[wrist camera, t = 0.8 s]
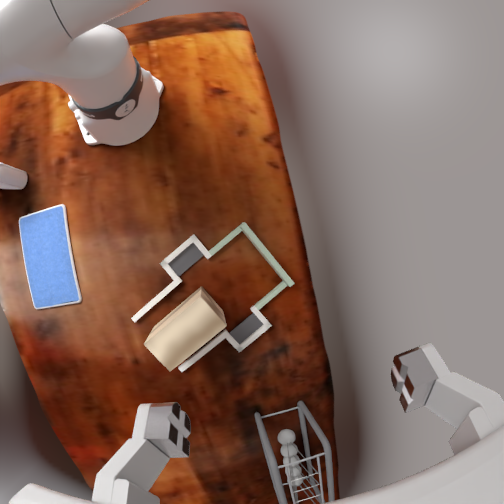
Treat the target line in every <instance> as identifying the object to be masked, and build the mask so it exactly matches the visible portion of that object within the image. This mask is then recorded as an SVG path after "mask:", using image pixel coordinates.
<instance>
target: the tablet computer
mask: <svg viewBox="0 0 504 504" xmlns="http://www.w3.org/2000/svg"><path fill="white" fill-rule="evenodd" d="M19 227H20V236H21V243H22V250H23V256H24V262H25V268H26V273H27V278H28V283H29V288H30V292H31V296H32V300H33V304H34V307H35V308H36V309H44V308H50V307H56V306H62V305H68V304H74V303H80V302H81V301H82V296H81V292H80V288H79V284H78V280H77V275H76V270H75V265H74V260H73V255H72V249H71V243H70V236H69V230H68V222H67V214H66V207H65V205H63V204H61V205H58V206H54V207H51V208H48V209H45V210H41V211H38V212H35V213H32V214H29V215H26V216H23V217H21V218H20V219H19Z"/></svg>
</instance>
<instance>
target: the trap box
mask: <svg viewBox="0 0 504 504" xmlns="http://www.w3.org/2000/svg"><path fill="white" fill-rule="evenodd" d="M241 231H243V233H244V234H245V235H246V236H247V238H248V239H249V240H250V241H251V242H252V244H253V245H254V246H255V247H256V249H257V250H258V251H259V252H260V253H261V255H262V256H263V257H264V258H265V260H266V261H267V262H268V263H269V264H270V266H271V267H272V268H273V269H274V271H275V272H276V273H277V274H278V275H279V277H280V278H281V279H282V280H283V281H282V282H281V283H280V284H278V285H277V286H276V287H275V288H274V289H273V290H271V291H270V292H269V293H268V294H267V295H266V296H264V297H263V298H262V299H261V300H260V301H259V302H257V303H256V304H255V305H254V306H253V307H251V308H250V309H251V311H252V312H253V313H252V314H251V315H250V316H249V317H248V318H246V319H245V320H244V321H243V322H242V323H240V324H239V325H238V326H237V327H236V328H234V329H233V330H232V331H231V332H230V333H229V332H228V331H227V330H226V329H225V330H224V331H223V332H221V333H220V334H219V335H218V336H217V337H215V338H214V339H213V340H212V341H210V342H209V343H208V344H207V345H205V346H204V347H203V348H202V349H200V350H199V351H198V352H197V353H195V354H194V355H193V356H192V357H190V358H189V359H188V360H187V361H185V362H184V363H183V364H182V365H180V366H179V370H180V371H181V372H183V371H184V370H186V369H187V368H188V367H190V366H191V365H192V364H193V363H195V362H196V361H197V360H198V359H200V358H201V357H202V356H203V355H205V354H206V353H207V352H209V351H210V350H211V349H212V348H213V347H215V346H216V345H217V344H218V343H220V342H221V341H222V340H223V339H225V338H226V339H227V340H228V341H229V342H230V343H231V344H232V346H233V347H234V348H235V349H236V350H237V351H238V352H241V351H242V350H243V349H244V348H246V347H247V346H248V345H249V344H251V343H252V342H253V341H254V340H255V339H257V338H258V337H259V336H260V335H261V334H263V333H264V332H265V331H266V330H267V329H269V328H270V327H271V326H272V325H271V324H270V323H269V322H268V320H267V319H266V318H265V317H264V316H263V315H262V314H261V312H260V311H259V310H260V309H261V308H262V307H263V306H264V305H265V304H267V303H268V302H269V301H270V300H271V299H272V298H274V297H275V296H276V295H277V294H278V293H279V292H281V291H282V290H283V289H284V288H285V287H286V286H287V285H288V286H289V287H291V286H292V285H293V284H295V283H294V282H293V281H292V280H291V278H290V277H289V276H288V275H287V273H286V272H285V271H284V270H283V268H282V267H281V266H280V265H279V263H278V262H277V261H276V260H275V258H274V257H273V256H272V255H271V254H270V252H269V251H268V250H267V249H266V247H265V246H264V245H263V244H262V242H261V241H260V240H259V239H258V238H257V236H256V235H255V234H254V233H253V231H252V230H251V229H250V228H249V227H248V225H247V224H246V223H245V222H243V223H242V224H241V225H239V226H238V227H237V228H236V229H235V230H233V231H232V232H231V233H230V234H228V235H227V236H226V237H225V238H224V239H222V240H221V241H220V242H219V243H218V244H217V245H215V246H214V247H213V248H212V249H211V250H209V251H208V250H207V249H206V248H205V247H204V246H203V244H202V243H201V242H200V241H199V240H198V238H197V237H196V236H195V235H194V234H193V235H192V236H191V237H190V238H189V239H187V240H186V241H185V242H184V243H183V244H182V245H180V246H179V247H178V248H177V249H176V250H175V251H173V252H172V253H171V254H170V255H169V256H168V257H166V258H165V259H164V260H163V261H162V262H161V263H160V264H161V266H162V267H163V268H164V269H165V270H166V272H167V273H168V274H169V275H170V276H171V278H172V279H173V280H174V281H173V282H172V283H171V284H170V285H168V286H167V287H166V288H165V289H164V290H163V291H161V292H160V293H159V294H158V295H157V296H156V297H155V298H153V299H152V300H151V301H150V302H149V303H148V304H147V305H145V306H144V307H143V308H142V309H141V310H140V311H139V312H137V313H136V314H135V315H134V316H133V317H132V318H131V319H132V320H133V321H134V322H136V321H137V320H138V319H139V318H140V317H142V316H143V315H144V314H145V313H146V312H147V311H148V310H150V309H151V308H152V307H153V306H154V305H155V304H156V303H158V302H159V301H160V300H161V299H162V298H163V297H165V296H166V295H167V294H168V293H169V292H170V291H171V290H173V289H174V288H175V287H176V286H177V285H178V284H180V283H181V282H182V280H181V278H180V277H179V276H180V275H181V274H182V273H184V272H185V271H186V270H187V269H188V268H189V267H191V266H192V265H193V264H194V263H195V262H196V261H198V260H199V259H200V258H201V257H202V256H205V257H206V258H207V259H209V258H210V257H211V256H213V255H214V254H215V253H216V252H217V251H219V250H220V249H221V248H222V247H223V246H224V245H226V244H227V243H228V242H229V241H230V240H232V239H233V238H234V237H235V236H236V235H238V234H239V233H240V232H241Z"/></svg>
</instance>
